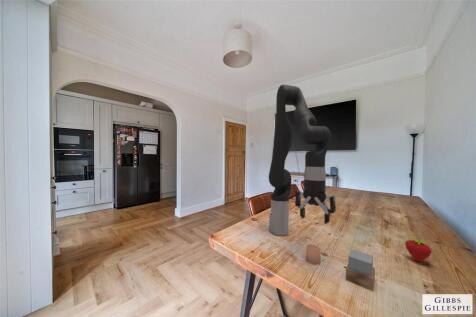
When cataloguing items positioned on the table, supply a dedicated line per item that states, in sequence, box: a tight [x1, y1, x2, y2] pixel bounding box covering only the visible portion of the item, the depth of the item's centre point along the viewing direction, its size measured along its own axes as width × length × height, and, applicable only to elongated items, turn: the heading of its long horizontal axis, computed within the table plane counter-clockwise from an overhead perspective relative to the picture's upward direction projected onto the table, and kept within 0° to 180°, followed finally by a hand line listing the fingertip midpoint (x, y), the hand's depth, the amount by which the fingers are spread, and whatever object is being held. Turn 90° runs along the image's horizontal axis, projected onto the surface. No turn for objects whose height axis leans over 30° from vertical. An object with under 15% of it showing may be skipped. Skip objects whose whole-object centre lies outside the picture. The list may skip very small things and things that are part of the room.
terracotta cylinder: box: [305, 244, 322, 266], centre depth 68 cm, size 5×5×5 cm
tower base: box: [345, 264, 376, 292], centre depth 58 cm, size 7×7×4 cm
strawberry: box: [404, 237, 432, 263], centre depth 68 cm, size 6×8×10 cm
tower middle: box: [347, 248, 374, 277], centre depth 58 cm, size 6×6×4 cm
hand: (314, 220), depth 68 cm, fingers open, 8 cm apart
